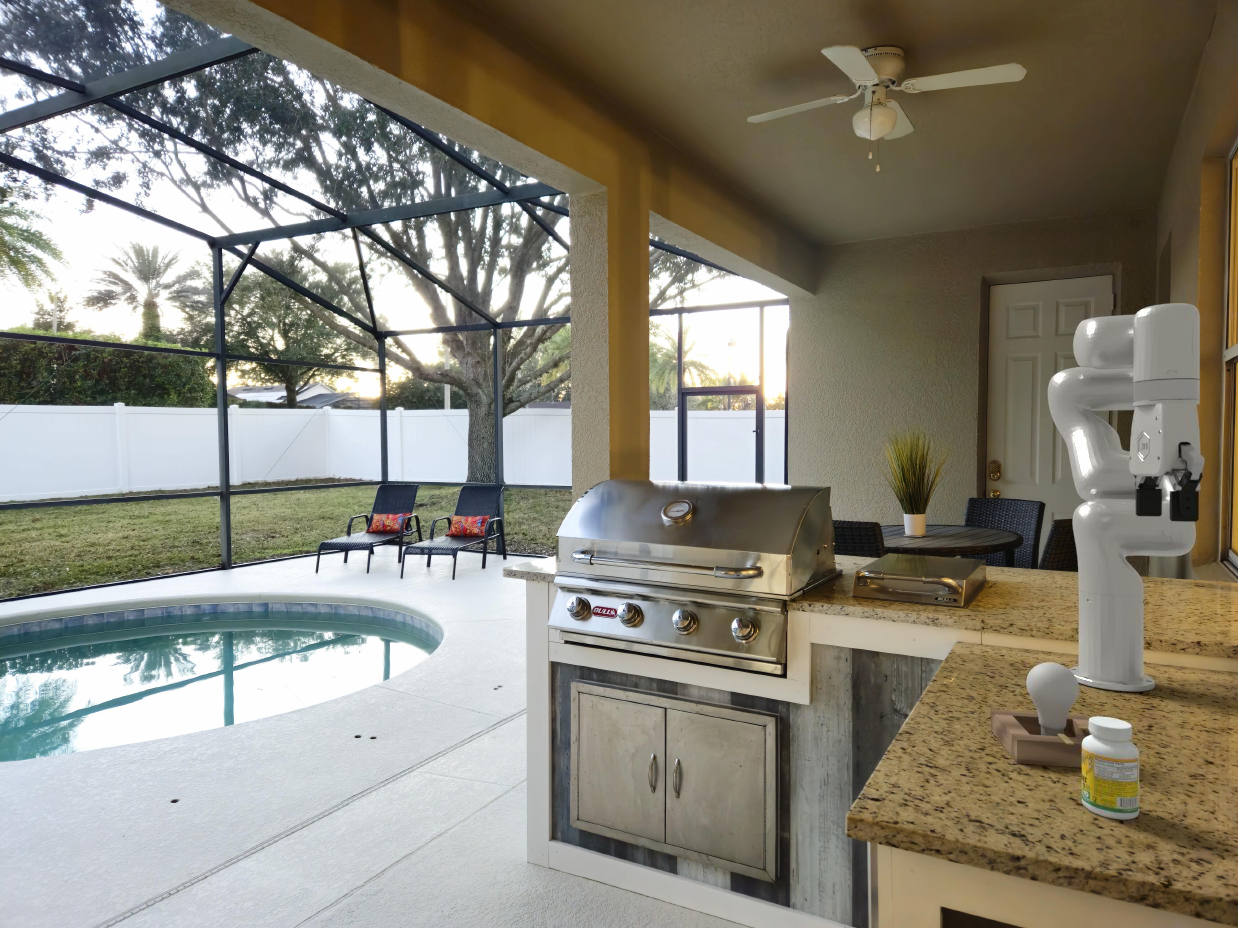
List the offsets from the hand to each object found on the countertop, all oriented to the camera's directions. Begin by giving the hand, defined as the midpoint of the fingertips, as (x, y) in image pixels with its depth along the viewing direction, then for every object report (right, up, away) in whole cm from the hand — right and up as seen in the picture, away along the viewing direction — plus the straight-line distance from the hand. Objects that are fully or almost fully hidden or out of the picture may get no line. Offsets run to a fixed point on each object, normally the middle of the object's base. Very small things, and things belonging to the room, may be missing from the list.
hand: (1165, 518), depth 106 cm
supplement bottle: (-22, -31, -22) cm, 44 cm away
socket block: (-18, -30, -4) cm, 36 cm away
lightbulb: (-18, -30, -5) cm, 35 cm away
